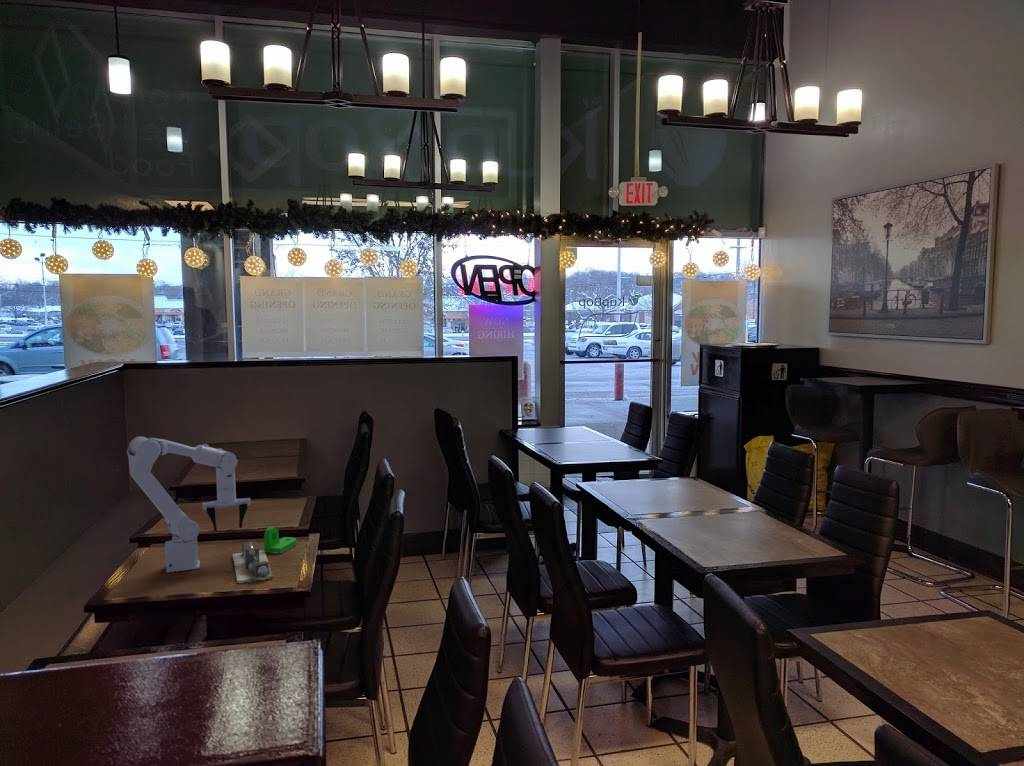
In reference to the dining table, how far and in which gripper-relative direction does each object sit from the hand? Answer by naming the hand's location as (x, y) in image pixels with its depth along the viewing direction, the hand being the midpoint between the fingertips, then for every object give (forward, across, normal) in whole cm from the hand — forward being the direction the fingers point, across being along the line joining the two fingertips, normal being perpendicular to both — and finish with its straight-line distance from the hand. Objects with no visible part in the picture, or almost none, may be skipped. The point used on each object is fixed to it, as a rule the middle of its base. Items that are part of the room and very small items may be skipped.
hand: (228, 528), depth 242 cm
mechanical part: (+10, +17, +2) cm, 20 cm away
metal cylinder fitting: (+9, +6, -4) cm, 12 cm away
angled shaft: (+9, +7, -24) cm, 27 cm away
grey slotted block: (+9, +6, -14) cm, 17 cm away
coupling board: (+9, +6, -14) cm, 18 cm away
